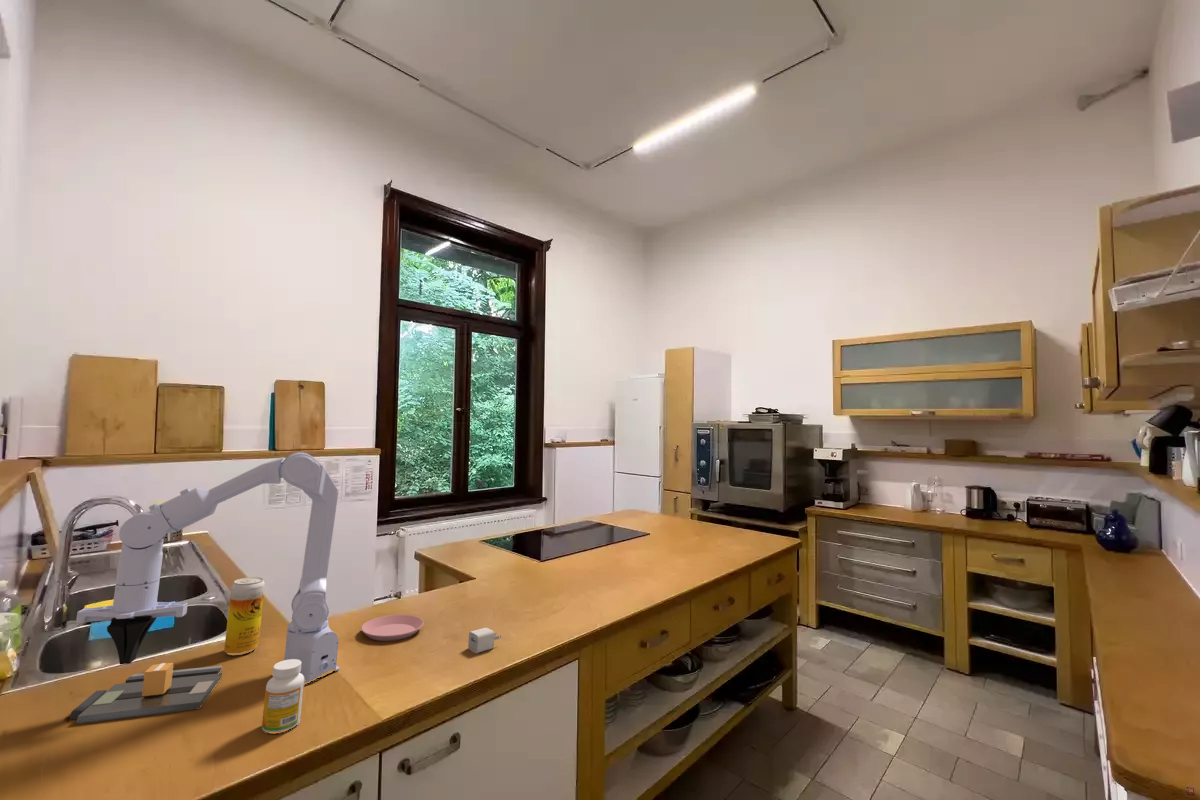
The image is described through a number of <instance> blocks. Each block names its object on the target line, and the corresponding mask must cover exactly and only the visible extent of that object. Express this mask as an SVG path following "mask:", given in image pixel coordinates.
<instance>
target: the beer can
mask: <svg viewBox="0 0 1200 800" xmlns="http://www.w3.org/2000/svg"><path fill="white" fill-rule="evenodd" d="M265 588H266V583H265V581H264V578H263V577H258V576H255V577H253V576H252V577H251V576H250V577H243V578H238V579H235V580H234V581H233V584H232V585H231V586H230V595H229V602H228V603H229V605H228V612H227V623H226V630H225V631H226V632H225V639H224V650H223V651H224V652H225V653H226V652H227V653H241V652H244V651H249V650H251V649H254V648H256V647H257V646H258V647H259V643H260V635H261V626H262V625H261V624H262V616H263V606H264V605H263V604H264V596H265ZM256 649H257V648H256ZM227 653H226V654H227Z"/></svg>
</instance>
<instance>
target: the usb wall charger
mask: <svg viewBox="0 0 1200 800" xmlns="http://www.w3.org/2000/svg"><path fill="white" fill-rule="evenodd" d="M501 638H502V634H500V635H497V632H495V631H494V630H492V629H490V628H488V627H483V628H479V629H476V630H471V631H469V632H468V642H467V647H468V650H470V651H471V652H473V653H475V654H479V653H483V652H485V651H488V650H493V649H494V646H495V645H494V644H495V641H496V640H499V639H501ZM492 648H493V649H492Z"/></svg>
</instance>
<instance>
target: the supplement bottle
mask: <svg viewBox="0 0 1200 800" xmlns="http://www.w3.org/2000/svg"><path fill="white" fill-rule="evenodd" d="M300 671H301V661H300V660H298V659H289V660H280V661H279V662H276V663H275V664H274V665H273V667H272V672H273V675H272V674H271V676H272V677H271V678H270V679H269V680H268V681H267V683H266V686H265V693H264V702H263V710H262V711H263V713H262V722H261V730H262V729H263V730H264V731H266V732H281V731H284V730H287V729H291V728H293V727H295V726H296V725H297V726H298V725H299V724H300V722H301V718H302V710H303V699H304V688H305V685H304V676H303V675H302V674H301V673H299V672H300ZM297 726H296V727H297ZM296 727H295V728H296ZM293 729H294V728H293ZM263 730H262V731H263ZM291 730H292V729H291Z"/></svg>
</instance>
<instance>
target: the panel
mask: <svg viewBox="0 0 1200 800" xmlns="http://www.w3.org/2000/svg"><path fill="white" fill-rule="evenodd" d="M222 676H223V674H222V672H221V673H219V674H209V675H200V676H190V677H180V678H172V682H171V686H170V688H169V689H168V690H167V691H166V692H165V693H164V694H159V695H150V696H142V690H143V682H144V681H142V682H132V683H115V684H113V685H112V686H111V687H110V688H108V689H107V691H106V692H105V693H104V694H103V695H102V696H101V697H100V698H98V699H97V700H96V701H95V702H94V703H93V704H92V705H90V706H89V707H88V708H87V709H86V710H85V711H83V712H82V713H81V714H80V715H79V716H78V718H77V720H76V725H82V724H89V723H98V722H99V723H100V722H107V721H114V720H121V719H129V718H131V719H132V718H139V717H146V716H154V715H163V714H170V713H179V712H187V711H186V710H188V711H192V710H191V709H196V710H198V709H197V708H200V706H201V705H202V704H203V702H204V701H205V700H207V699H208V698H209V697H210V695H211V694H212V693H211V691H212V689H213V688H214V687H215V685H216V684H217V683H218V681H219V680H220V678H221V679H222ZM218 684H219V683H218ZM215 688H216V687H215ZM212 692H213V691H212ZM210 693H211V694H210ZM209 694H210V695H209ZM208 696H209V697H208ZM207 697H208V698H207ZM206 698H207V699H206ZM205 702H206V701H205ZM205 702H204V703H205ZM203 705H204V704H203ZM203 705H202V706H203ZM202 706H201V707H202ZM200 709H201V708H200Z"/></svg>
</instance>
